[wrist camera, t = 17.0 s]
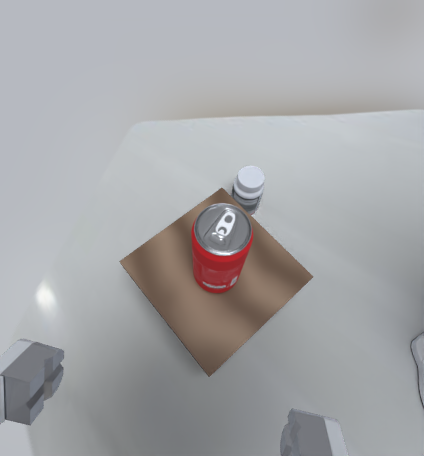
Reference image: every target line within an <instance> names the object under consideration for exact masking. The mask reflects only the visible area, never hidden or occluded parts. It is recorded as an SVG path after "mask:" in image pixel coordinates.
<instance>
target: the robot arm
mask: <svg viewBox="0 0 424 456" xmlns="http://www.w3.org/2000/svg"><path fill="white" fill-rule="evenodd" d="M411 348H412V352H413V355H414V358H415V360H416V363H417V365H418V371H419V389H420V394H421V399H422V402H423V405H424V333H422V334H421V335H420V336H418V337H417V338H416V339H414V340H413V341H412V343H411ZM63 359H64V351H63V350H62V349H59V348H55V347H52V346H48V345H45V344H41V343H38V342H33V341H30V340H27V339H20V340H18V341H17V342H16V343H14V344H13V345H12V346H11V347H10V348H9V349H8V350H7V351H6V352H4V353H3V354H2V355H1V356H0V424H1V423H3V422H4V421H5V420H10V421H14V422H18V423H22V424H26V425H31V424H32V422H33V421H34V420H35V419H36V417H37V416H38V415H39V413H40V412H41V411H42V409H43V408H44V401H45V400H47V399H49V398H50V397H52V396H53V395H54V393H55V392H56V390H57V389H58V387H59V385H60V383H61V380H62V376H63V367H62V365H61V364H60V362H61V361H62V360H63ZM288 422H289V424H287V425H285V426H284V429H283V432H282V436H281V443H280V452H281V456H349V455H348V451H347V448H346V444H345V441H344V438H343V434H342V431H341V427H340V424H339V422H338V420H337V419H333V418H329V417H325V416H320V415H317V414H313V413H309V412H305V411H301V410H297V409H293V408H292V409H291V410H290V412H289V415H288Z"/></svg>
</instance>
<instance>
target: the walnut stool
mask: <svg viewBox="0 0 424 456" xmlns="http://www.w3.org/2000/svg"><path fill="white" fill-rule="evenodd" d="M219 203H225V204H231V205H234V206H236V207H238V208H240V209H241V210H242V211H243V212H244V213H245V214H246V215H247V216H248V218H249V220H250V222H251V225H252V229H253V241H252V244H251V247H250V250H249V252H248V255H247V257H246V260H245V263H244V265H243V268H242V270H241V273H240V275H239V278H238V280H237V282H236V284H235V285H234V286H233V287H232V288H231V289H229V290H228V291H225V292H222V293H211V292H208V291H206V290H204V289H203V288H201V287H200V286H199V285H198V283H197V282H196V280H195V277H194V273H193V256H192V238H191V230H192V226H193V223H194V221H195V219H196V218H197V216H198V215H199V214H200V212H201V211H202V210H204V209H205V208H206V207H208V206H210V205H213V204H219ZM119 262H120V263H121V265H122V266H123V268H124V269H125V270H126V271H127V273H128V274H129V275H130V276H131V278H132V279H133V280H134V282H135V283H136V284H137V285H138V287H139V288H140V289H141V291H142V292H143V293H144V294H145V296H146V297H147V298H148V300H149V301H150V302H151V303H152V305H153V306H154V307H155V308H156V310H157V311H158V312H159V314H160V315H161V316H162V317H163V319H164V320H165V321H166V323H167V324H168V325H169V326H170V328H171V329H172V330H173V332H174V333H175V334H176V335H177V337H178V338H179V339H180V340H181V342H182V343H183V344H184V346H185V347H186V348H187V349H188V351H189V352H190V353H191V355H192V356H193V357H194V358H195V360H196V361H197V362H198V364H199V365H200V366H201V367H202V369H203V370H204V371H205V373H206V374H207V375H208V376H209V377H210V376H211V375H212V374H213V373H214V372H215V371H216V370H217V369H218V368H219V367H220V366H221V365H222V364H223V363H224V362H225V361H226V360H227V359H228V358H230V357H231V356H232V355H233V354H234V353H235V352H236V351H237V350H238V349H239V348H240V347H241V346H242V345H243V344H244V343H245V342H246V341H247V340H248V339H249V338H250V337H251V336H252V335H253V334H255V333H256V332H257V331H258V330H259V329H260V328H261V327H262V326H263V325H264V324H265V323H266V322H267V321H268V320H269V319H270V318H271V317H272V316H273V315H274V314H275V313H276V312H277V311H278V310H279V309H281V308H282V307H283V306H284V305H285V304H286V303H287V302H288V301H289V300H290V299H291V298H292V297H293V296H294V295H295V294H296V293H297V292H298V291H299V290H300V289H301V288H302V287H303V286H304V285H306V284H307V283H308V282H309V281H310V280H311V279H312V278H313V276H312V275H311V274H310V273H309V272H308V271H307V270H306V269H305V268H304V267H303V266H302V265H301V264H300V263H299V262H298V261H297V260H296V259H295V258H294V257H293V256H292V255H291V254H290V253H289V252H287V251H286V250H285V249H284V248H283V247H282V246H281V245H280V244H279V243H278V242H277V241H276V240H275V239H274V238H273V237H272V236H271V235H270V234H269V233H268V232H267V231H266V230H265V229H264V228H263V227H262V226H261V225H260V224H259V223H258V222H257V221H256V220H255V219H254V218H253V217H252V216H251V215H250V214H249V213H247V212H246V211H245V210H244V209H243V208H242V207H241V206H240V205H239V204H238V203H237V202H236V201H235V200H234V199H233V198H232V197H231V196H230V195H229V194H228V193H227V192H226V191H225V190H224V189H223V188H221V189H219V190H218V191H217V192H215V193H214V194H212V195H211V196H210V197H208V198H207V199H206V200H204V201H203V202H201V203H200V204H199V205H197V206H196V207H194V208H193V209H192V210H190V211H189V212H187V213H186V214H185V215H183V216H182V217H180V218H179V219H178V220H176V221H175V222H174V223H172V224H171V225H169V226H168V227H167V228H165V229H164V230H162V231H161V232H160V233H158V234H157V235H155V236H154V237H153V238H151V239H150V240H149V241H147V242H146V243H144V244H143V245H142V246H140V247H139V248H137V249H136V250H135V251H133V252H132V253H130V254H129V255H128V256H126V257H125V258H124V259H122V260H121V261H119Z"/></svg>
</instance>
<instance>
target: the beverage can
mask: <svg viewBox="0 0 424 456" xmlns="http://www.w3.org/2000/svg"><path fill="white" fill-rule="evenodd" d="M191 238H192V256H193V273H194V277H195V280H196V282H197V283H198V285H199V286H200V287H201V288H203V289H204V290H206V291H208V292H211V293H222V292H225V291H228V290H229V289H231V288H232V287H233V286H234V285H235V284H236V282H237V280H238V278H239V275H240V273H241V270H242V268H243V265H244V263H245V260H246V257H247V255H248V252H249V250H250V247H251V244H252V241H253V229H252V225H251V222H250V220H249V218H248V216H247V215H246V214H245V213H244V212H243V211H242V210H241V209H240V208H238V207H236V206H234V205H231V204H225V203H219V204H213V205H210V206H208V207H206V208H205V209H204V210H202V211H201V212H200V214H199V215H198V216H197V218H196V219H195V221H194V223H193V226H192V230H191Z"/></svg>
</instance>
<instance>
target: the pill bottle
mask: <svg viewBox="0 0 424 456" xmlns="http://www.w3.org/2000/svg"><path fill="white" fill-rule="evenodd" d="M264 180H265V176H264V173H263V171H262V170H261V169H259V168H258V167H256V166H245V167H243V168H241V169H240V171H239V172H238V175H237V177H236V178H235V180H234V184H233V189H232V195H231V197H232V198H233V199H234V200H235V201H236V202H237V203H238V204H239V205H240V206H241V207H242V208H243V209H244V210H245V211H246V212H247V213H249V214H250V215H252V214H253V213H254V212H255V211H256V210H257V208H258V205H259V202H260V199H261V196H262V193H263V190H264Z"/></svg>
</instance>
